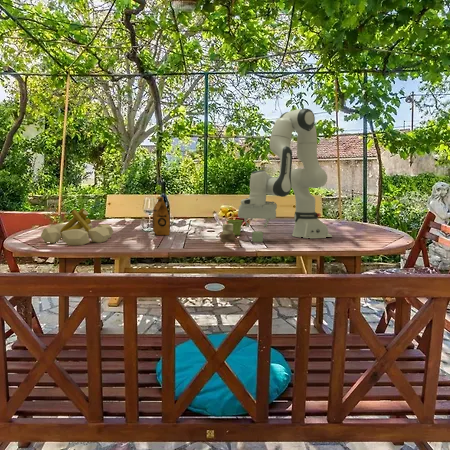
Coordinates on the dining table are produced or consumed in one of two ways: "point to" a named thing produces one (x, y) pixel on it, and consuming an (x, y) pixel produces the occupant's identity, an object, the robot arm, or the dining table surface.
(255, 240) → the green cube
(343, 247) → the dining table surface
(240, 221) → the plant pot
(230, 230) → the birch cube
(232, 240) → the brown square block
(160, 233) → the coffee package
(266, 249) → the dining table surface
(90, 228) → the campfire
